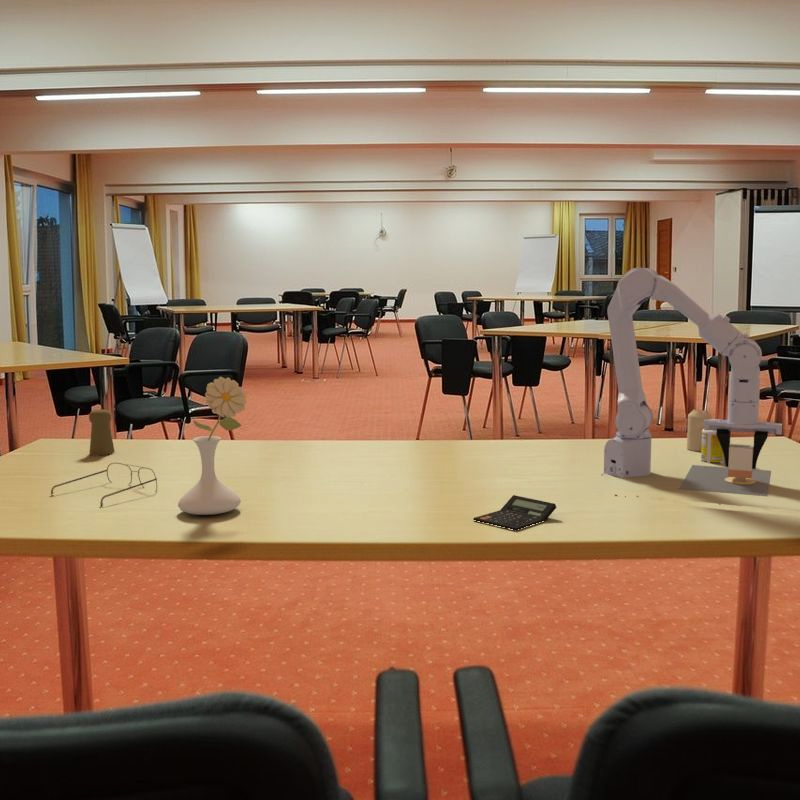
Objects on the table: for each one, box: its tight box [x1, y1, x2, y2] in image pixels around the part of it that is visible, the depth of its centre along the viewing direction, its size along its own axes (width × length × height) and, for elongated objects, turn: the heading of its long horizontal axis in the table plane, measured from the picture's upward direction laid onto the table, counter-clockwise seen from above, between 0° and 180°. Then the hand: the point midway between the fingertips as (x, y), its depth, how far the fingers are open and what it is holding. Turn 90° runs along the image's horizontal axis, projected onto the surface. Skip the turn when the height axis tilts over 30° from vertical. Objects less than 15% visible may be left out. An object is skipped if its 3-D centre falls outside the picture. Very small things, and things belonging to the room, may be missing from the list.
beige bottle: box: [686, 408, 713, 452], centre depth 215 cm, size 6×6×10 cm
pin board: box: [678, 464, 772, 497], centre depth 179 cm, size 24×16×5 cm, turn 156°
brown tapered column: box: [88, 408, 116, 456], centre depth 218 cm, size 6×6×11 cm
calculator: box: [472, 494, 557, 530], centre depth 154 cm, size 9×12×3 cm
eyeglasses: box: [50, 462, 158, 506], centre depth 177 cm, size 16×15×5 cm
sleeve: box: [727, 443, 754, 478], centre depth 177 cm, size 4×4×6 cm
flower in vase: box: [177, 376, 247, 516], centre depth 160 cm, size 13×11×25 cm
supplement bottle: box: [700, 418, 725, 464], centre depth 197 cm, size 6×6×10 cm
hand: (740, 467), depth 177 cm, fingers closed on sleeve, 4 cm apart
